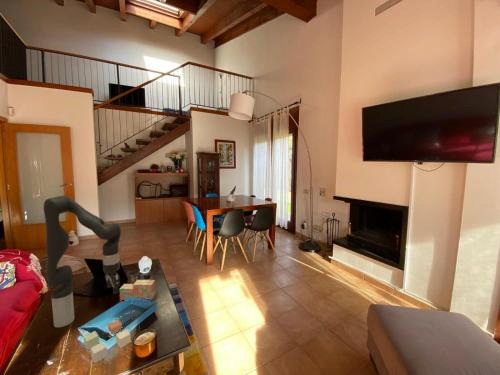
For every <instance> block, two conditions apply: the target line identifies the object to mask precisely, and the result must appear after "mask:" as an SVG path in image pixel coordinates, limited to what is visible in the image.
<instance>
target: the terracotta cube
mask: <svg viewBox="0 0 500 375" xmlns="http://www.w3.org/2000/svg"><path fill="white" fill-rule="evenodd" d="M122 325H123V324H122V322H121V321H120V320H119V319H117V320H116V319H115V321H112V322H110V323H108V324H107V326H108V327H107V328H108V329H109V331H110V332H111V334H113V333H115V332H117V331H118V330H119V329H121V328H122V329H123V326H122ZM108 329H107V330H108Z"/></svg>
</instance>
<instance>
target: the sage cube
mask: <svg viewBox="0 0 500 375" xmlns="http://www.w3.org/2000/svg"><path fill="white" fill-rule="evenodd" d="M99 338H100V335H99V334H98V332H96V330H93V331H92V332H90V333H88V334H85V335H84V336H83V346H84V348H85V349H86V350H87V351H89V350H91V348H92V347H94V346H96V345H97V344H98V340H99ZM99 341H100V340H99Z"/></svg>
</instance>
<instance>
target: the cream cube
mask: <svg viewBox="0 0 500 375" xmlns="http://www.w3.org/2000/svg"><path fill="white" fill-rule="evenodd" d="M115 342H116V345H117V346H118V347H119V349H122V348H123V347H124V348H125V347H126V346H127V345H129V344H131V333H130V332H129V330H128V329H127V328H126V329H123V330H122V332H120V333H118V334H116V336H115Z"/></svg>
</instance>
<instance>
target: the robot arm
mask: <svg viewBox="0 0 500 375" xmlns="http://www.w3.org/2000/svg"><path fill="white" fill-rule="evenodd" d="M67 212H68V213H71V214H73V215H75V216H76V219H77V222H78V223H79V224H80V225H81V226H83V227H85V228H86V229H89V230H90V231H92V232H93V233H94V234H95V235H96V236H97V238H99V239H100V240H104V241H105V243H103V245H102V269H103V270H102V271H103V273H104V279H105V281H106V287H107V288H108V289H110V288H112V290H113V291H112V293H113V294H114V295H115V294H116V295H117V294H118V293H119V287H121V280H120V277H121V276H120V275H119V274H118V272H117V271H119V270H120V269H121V264H120V260H121V259H120V253H119V252H120V251H119V242H120V238H121V235H122V234H121V233H122V231H121V230H122V229H121V227H120V225H119V224H117V223H110V224H107V225H105V221H104V220H103V219H102V218H101V217H99V216H98V215H95V214H93V213H91V212H90V211H88V210H86V209H85V208H84V207H83V206H81V205H80V204H79V203H78V202H76V201H75V200H74V199H73V198H71V197H69V196H67V195H60V196H54V197H50V198H47V199H45V200H44V203H43V213H44V215H43V216H44V220H45V230H46V244H45V245H46V269H45V270H46V271H45V272H46V273H45V282H46V285H47V286H48V287H50V288H53V287H55V288H54V289H53V290H52V292H51V293H50V294H51V295H50V296H51V306H52V318H53V326H54V327H55V328H63V327H66V326H68V325H71V324H72V323H73V321H75V307H74V294H73V286H74V285H73V270H72V269H73V268H72V267H71V265H69V264H67V265H63V266H60V267H58V264H59V262H60V260H61V259H62V258H63V256H64V255H65V253H66V252H67V250H68V248H69V246H70V245H69V243H70V241H69V238H70V237H69V233H68V232H67V231H66V229H65V228H63V226H62V225H61V223H60V214H65V213H67Z"/></svg>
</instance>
